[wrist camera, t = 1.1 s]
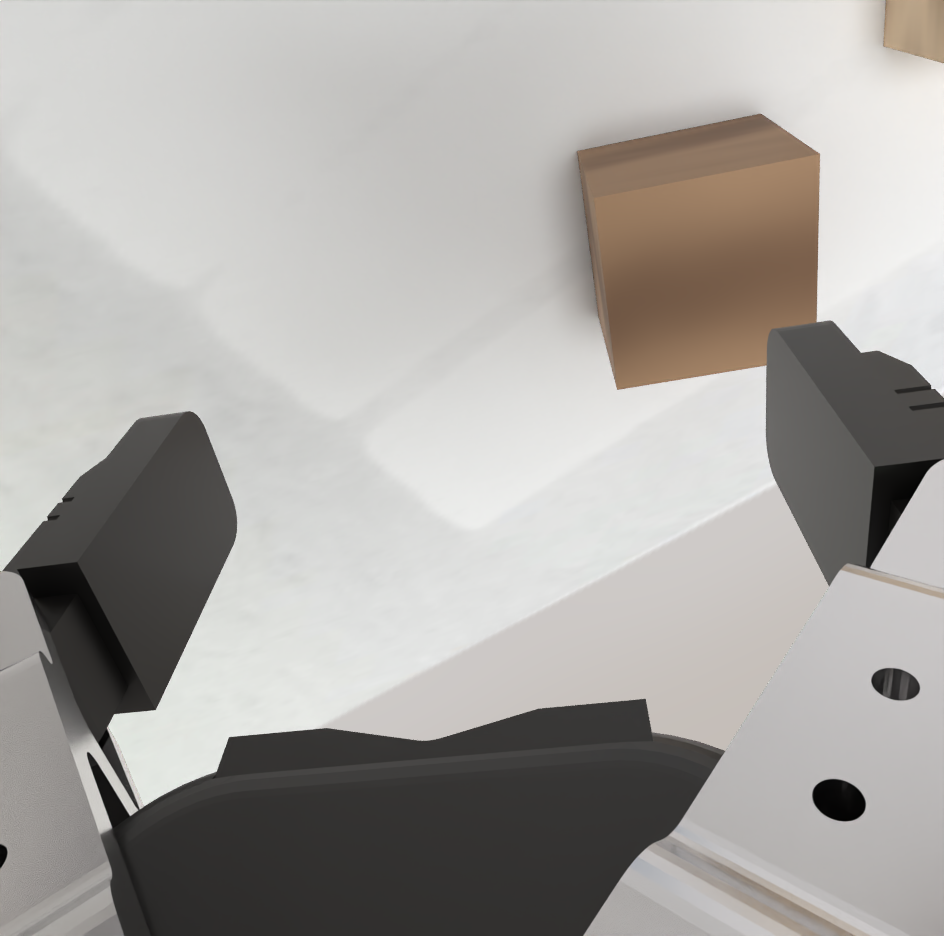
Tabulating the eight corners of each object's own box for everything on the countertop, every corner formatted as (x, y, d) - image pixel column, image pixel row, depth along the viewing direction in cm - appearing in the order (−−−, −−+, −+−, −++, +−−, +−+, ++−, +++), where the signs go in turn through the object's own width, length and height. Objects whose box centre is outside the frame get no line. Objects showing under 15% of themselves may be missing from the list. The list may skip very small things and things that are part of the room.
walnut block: (576, 150, 28) (593, 198, 23) (760, 113, 27) (819, 154, 22) (598, 315, 31) (617, 389, 26) (763, 286, 30) (815, 357, 25)
